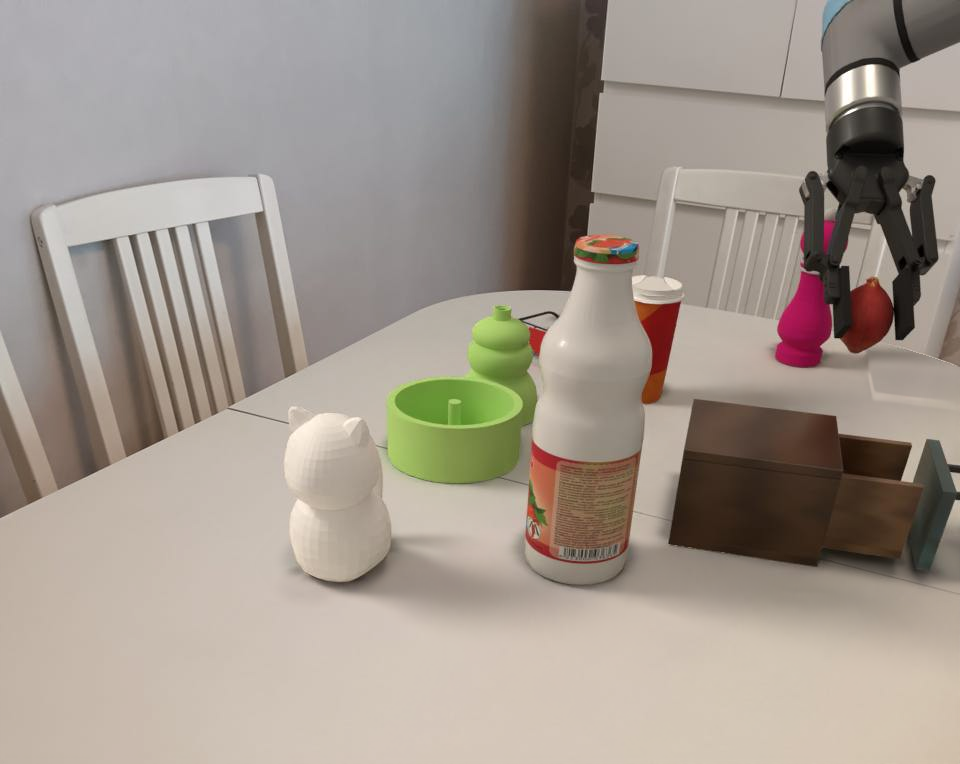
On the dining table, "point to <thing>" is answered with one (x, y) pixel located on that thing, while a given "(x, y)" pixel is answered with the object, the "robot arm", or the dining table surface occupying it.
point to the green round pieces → (467, 409)
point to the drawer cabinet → (757, 482)
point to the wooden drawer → (891, 500)
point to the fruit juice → (589, 421)
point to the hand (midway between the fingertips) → (874, 332)
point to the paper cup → (657, 325)
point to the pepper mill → (806, 313)
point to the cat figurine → (335, 496)
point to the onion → (868, 316)
